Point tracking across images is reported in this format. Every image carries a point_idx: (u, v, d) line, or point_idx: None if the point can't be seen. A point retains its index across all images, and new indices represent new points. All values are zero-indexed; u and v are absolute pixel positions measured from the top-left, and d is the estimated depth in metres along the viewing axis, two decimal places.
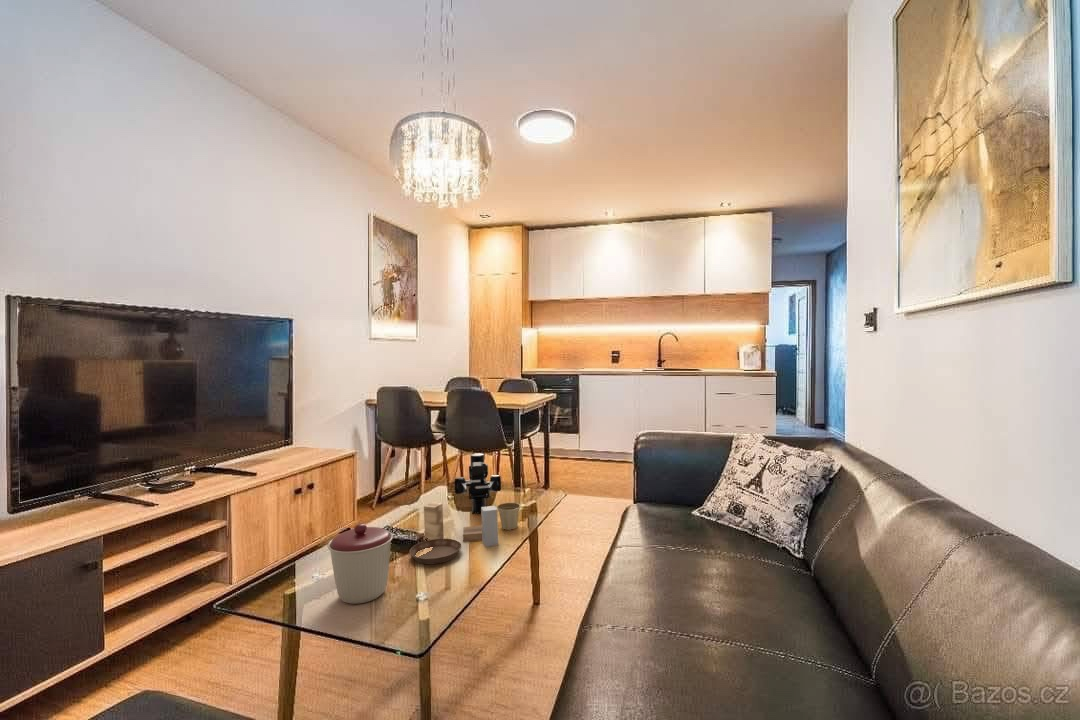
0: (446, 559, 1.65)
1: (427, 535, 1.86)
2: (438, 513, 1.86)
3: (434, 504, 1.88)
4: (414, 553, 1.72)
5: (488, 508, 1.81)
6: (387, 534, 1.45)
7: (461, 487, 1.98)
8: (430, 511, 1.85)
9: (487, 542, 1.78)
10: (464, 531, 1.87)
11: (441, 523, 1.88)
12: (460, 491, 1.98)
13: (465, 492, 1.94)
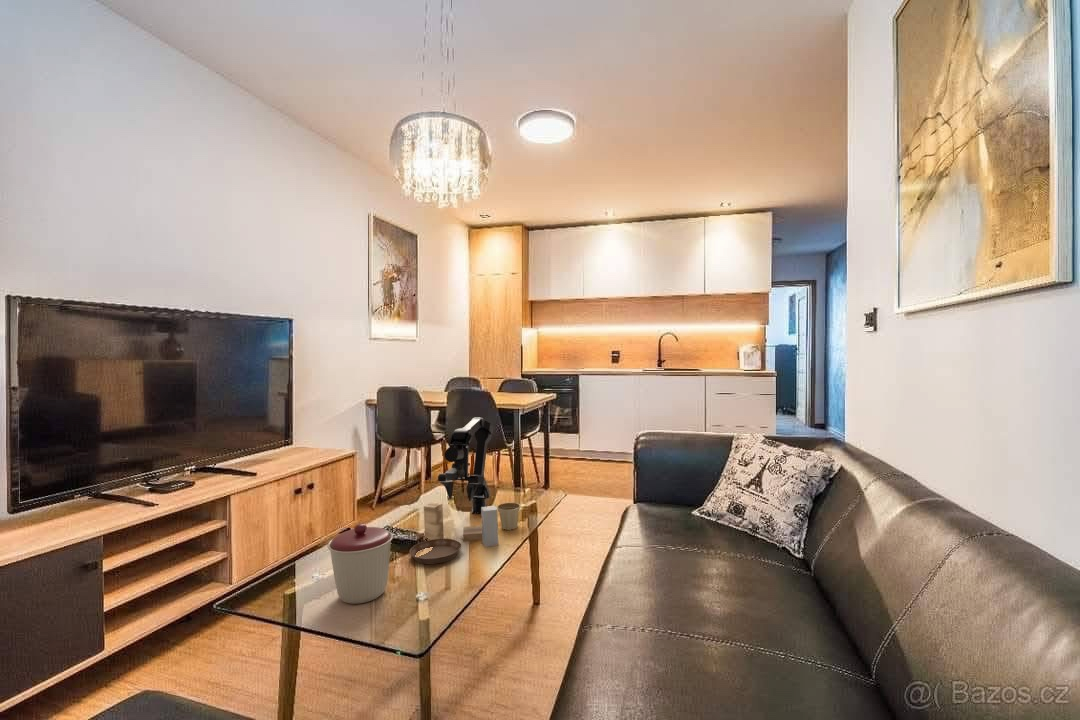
0: (446, 558, 1.65)
1: (427, 535, 1.86)
2: (438, 513, 1.86)
3: (434, 504, 1.88)
4: (414, 553, 1.72)
5: (488, 508, 1.81)
6: (387, 534, 1.45)
7: None
8: (430, 511, 1.85)
9: (487, 542, 1.78)
10: (464, 531, 1.87)
11: (441, 523, 1.88)
12: None
13: (451, 494, 2.01)
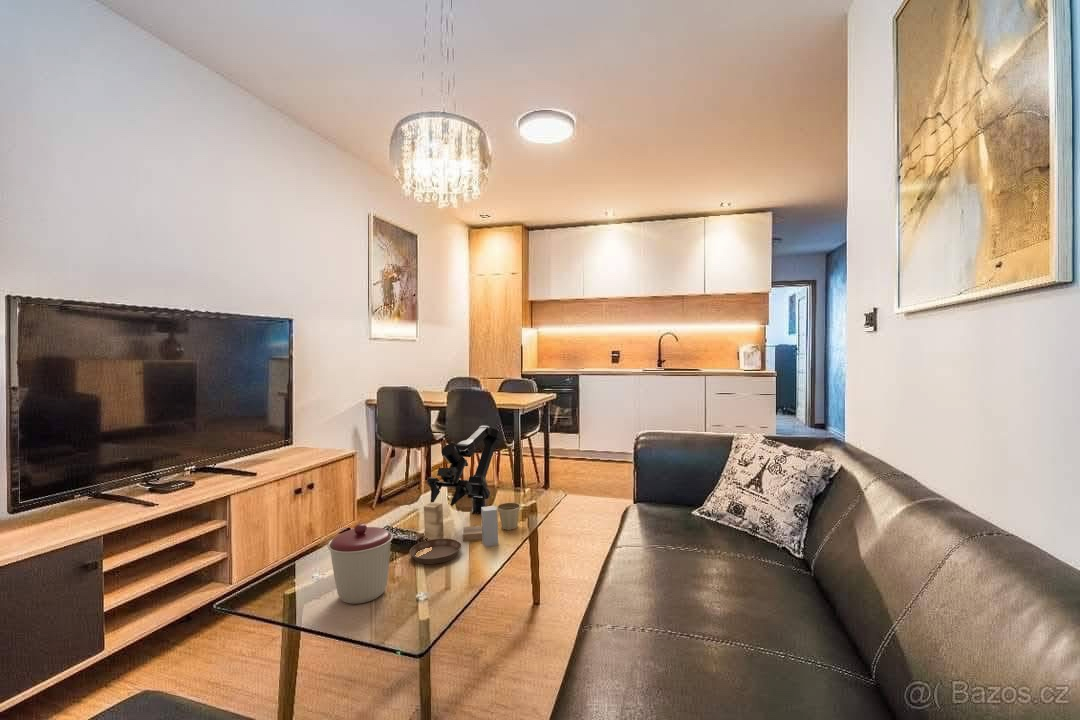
0: (446, 559, 1.65)
1: (427, 535, 1.86)
2: (438, 513, 1.86)
3: (434, 504, 1.88)
4: (414, 553, 1.72)
5: (488, 508, 1.81)
6: (387, 534, 1.45)
7: None
8: (430, 511, 1.85)
9: (487, 542, 1.78)
10: (464, 531, 1.87)
11: (441, 523, 1.88)
12: None
13: None
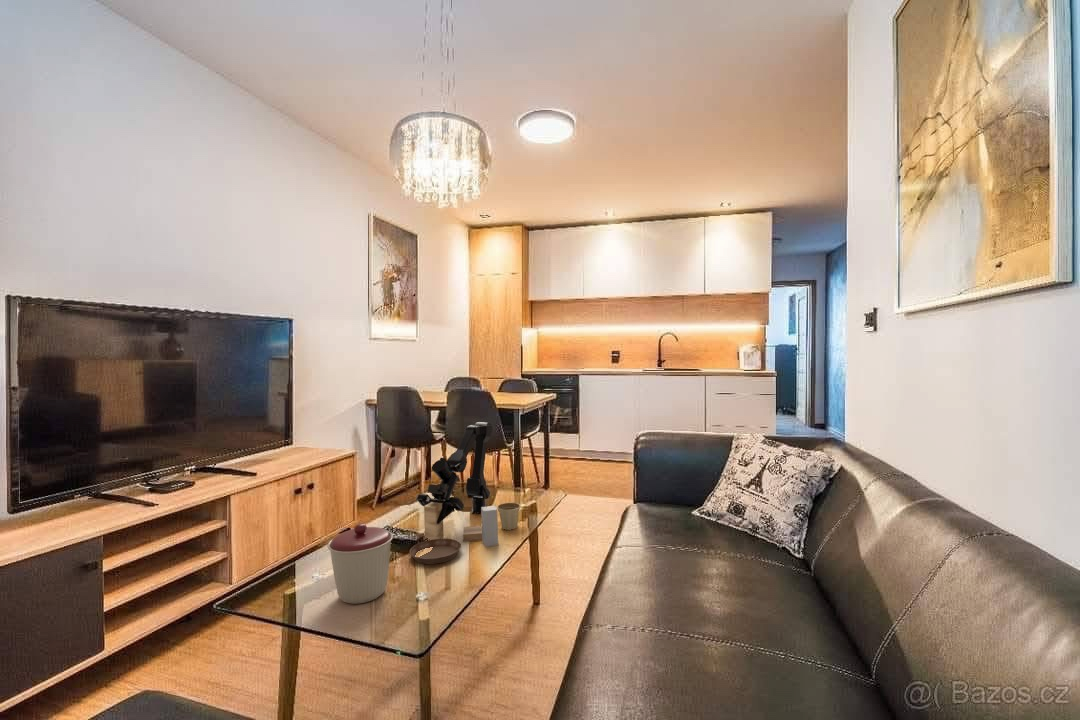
0: (446, 559, 1.65)
1: (427, 535, 1.86)
2: (438, 513, 1.86)
3: (434, 504, 1.88)
4: (414, 553, 1.72)
5: (488, 508, 1.81)
6: (387, 534, 1.45)
7: None
8: (430, 511, 1.85)
9: (487, 542, 1.78)
10: (464, 531, 1.87)
11: (441, 523, 1.88)
12: None
13: None
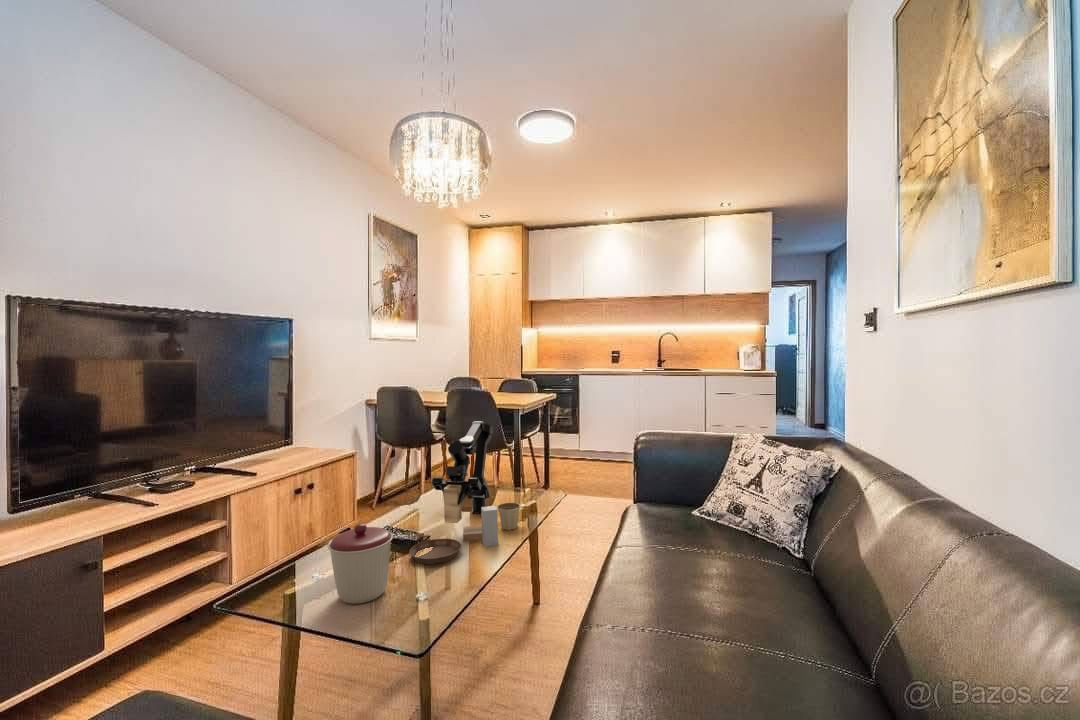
0: (446, 559, 1.65)
1: (447, 517, 1.85)
2: (458, 495, 1.86)
3: (453, 486, 1.88)
4: (414, 553, 1.72)
5: (488, 508, 1.81)
6: (387, 534, 1.45)
7: None
8: (451, 492, 1.85)
9: (487, 542, 1.78)
10: (464, 531, 1.87)
11: (460, 504, 1.88)
12: None
13: None
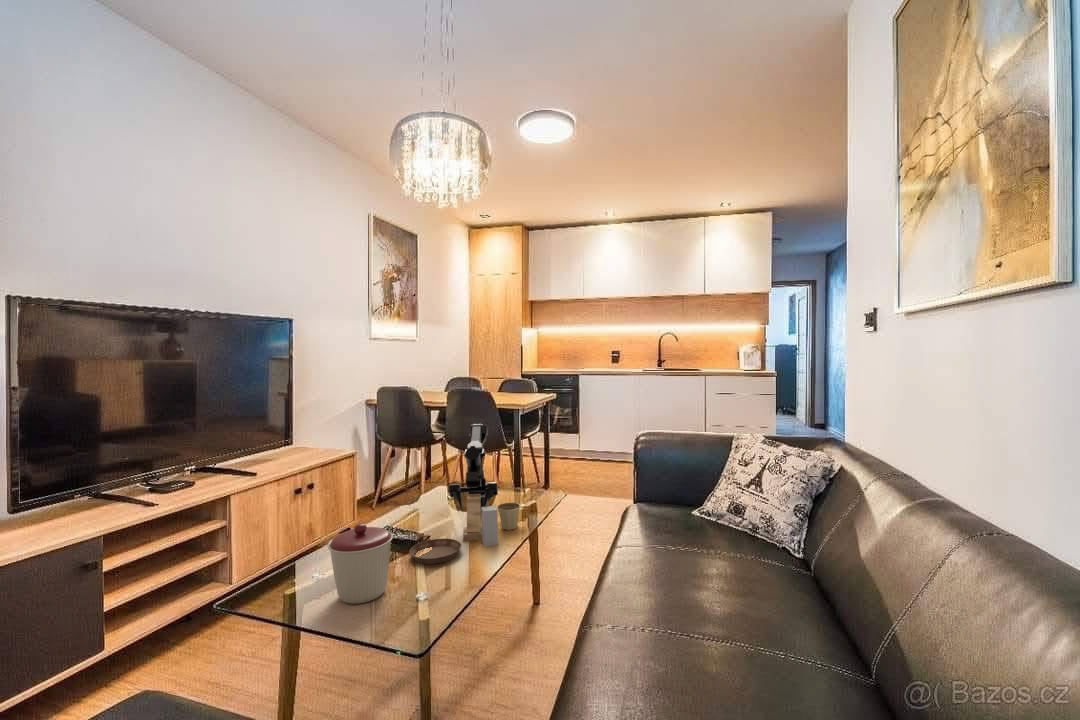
0: (446, 558, 1.65)
1: (470, 526, 1.86)
2: (480, 503, 1.88)
3: (474, 495, 1.89)
4: (414, 553, 1.72)
5: (488, 508, 1.81)
6: (387, 534, 1.45)
7: (457, 495, 1.91)
8: (474, 501, 1.86)
9: (487, 542, 1.78)
10: (464, 531, 1.87)
11: (480, 513, 1.90)
12: (456, 497, 1.92)
13: None
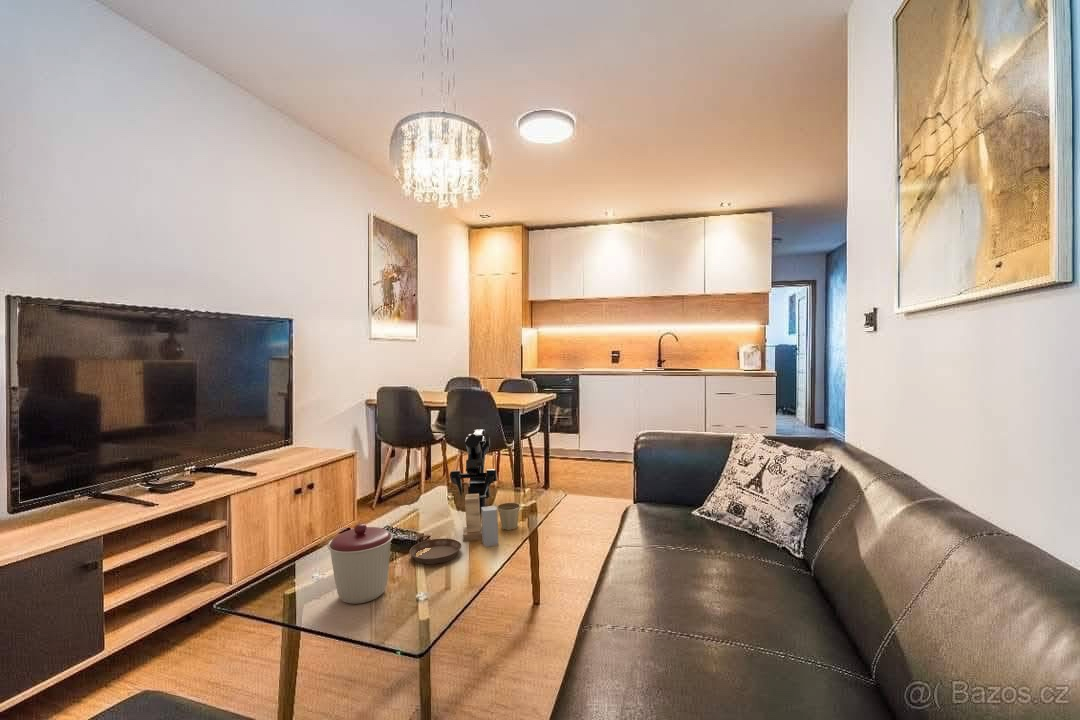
0: (446, 559, 1.65)
1: (469, 527, 1.86)
2: None
3: (472, 495, 1.88)
4: (414, 553, 1.72)
5: (488, 508, 1.81)
6: (387, 534, 1.45)
7: (457, 481, 2.00)
8: (472, 502, 1.85)
9: (487, 542, 1.78)
10: (464, 531, 1.87)
11: None
12: (456, 483, 2.01)
13: None
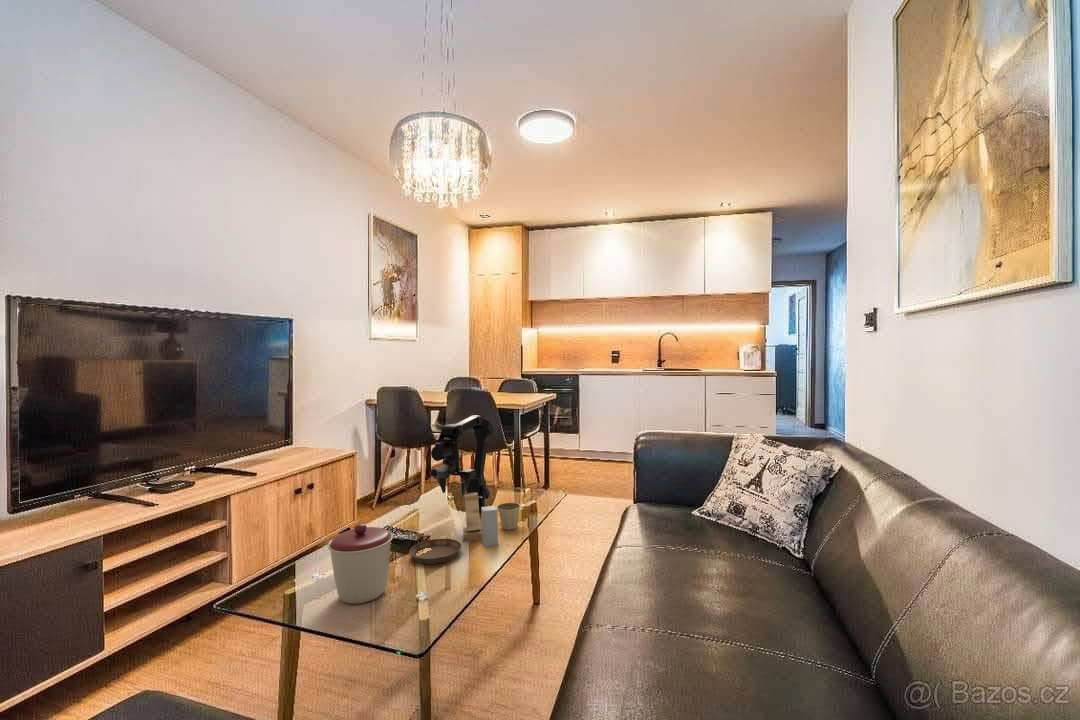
0: (446, 559, 1.65)
1: (470, 525, 1.86)
2: None
3: (471, 493, 1.91)
4: (414, 553, 1.72)
5: (488, 508, 1.81)
6: (387, 534, 1.45)
7: None
8: (472, 499, 1.87)
9: (487, 542, 1.78)
10: (464, 531, 1.87)
11: None
12: None
13: None
